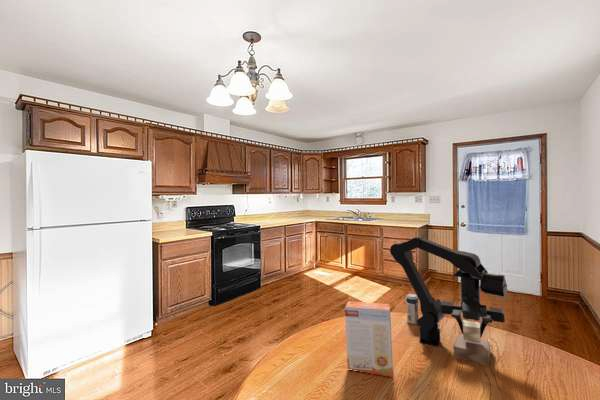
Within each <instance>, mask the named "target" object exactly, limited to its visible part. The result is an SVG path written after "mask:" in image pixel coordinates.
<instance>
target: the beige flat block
mask: <svg viewBox="0 0 600 400" xmlns="http://www.w3.org/2000/svg"><path fill="white" fill-rule="evenodd" d="M453 358H457V359H461V360H464V361H469V362H473V363H477V364H480V365H485V366H488V367H489V365H490V360H491V359H490V358H491V341H489V340H485V339H481V343H476V342H471V341H465V340H463V334H457V335H456V338H455V341H454V343H453Z"/></svg>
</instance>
